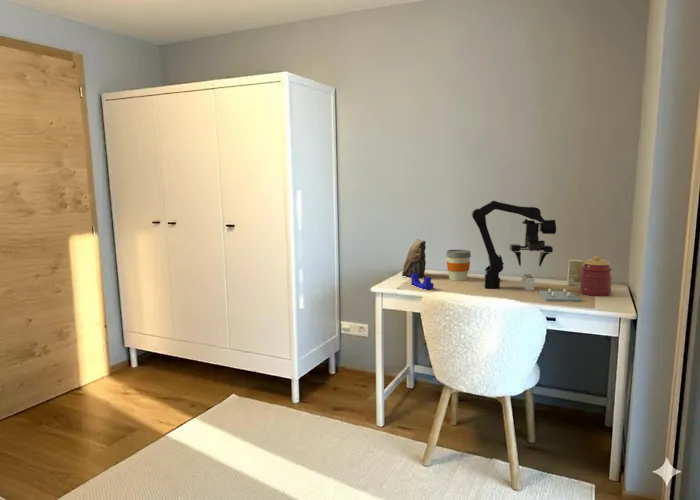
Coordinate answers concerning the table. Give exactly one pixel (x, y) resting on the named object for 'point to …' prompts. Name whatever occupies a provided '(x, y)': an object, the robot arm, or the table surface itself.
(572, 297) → the pin tray
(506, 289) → the table surface
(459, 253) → the reusable coffee cup
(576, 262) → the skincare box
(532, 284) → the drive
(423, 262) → the brown tall pointed piece
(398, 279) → the table surface
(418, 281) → the cable clip
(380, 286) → the table surface
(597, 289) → the canister
